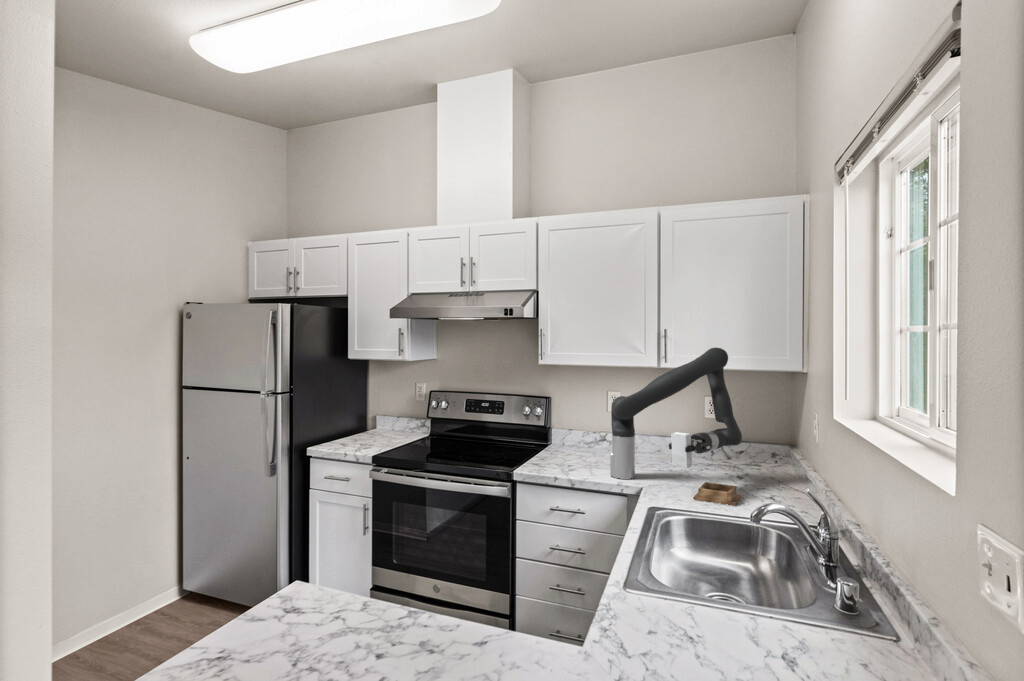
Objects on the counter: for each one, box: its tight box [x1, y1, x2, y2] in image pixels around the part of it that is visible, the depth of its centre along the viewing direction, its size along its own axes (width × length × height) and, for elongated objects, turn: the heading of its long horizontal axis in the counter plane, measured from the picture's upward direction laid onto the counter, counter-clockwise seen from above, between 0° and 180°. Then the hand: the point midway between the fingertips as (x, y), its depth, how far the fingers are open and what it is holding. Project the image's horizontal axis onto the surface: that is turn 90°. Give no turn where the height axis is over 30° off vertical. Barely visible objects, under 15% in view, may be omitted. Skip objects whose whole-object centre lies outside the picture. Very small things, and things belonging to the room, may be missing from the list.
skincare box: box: [670, 431, 693, 469], centre depth 203 cm, size 6×4×12 cm
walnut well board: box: [692, 482, 742, 507], centre depth 198 cm, size 14×12×4 cm
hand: (677, 448), depth 201 cm, fingers closed on skincare box, 6 cm apart
